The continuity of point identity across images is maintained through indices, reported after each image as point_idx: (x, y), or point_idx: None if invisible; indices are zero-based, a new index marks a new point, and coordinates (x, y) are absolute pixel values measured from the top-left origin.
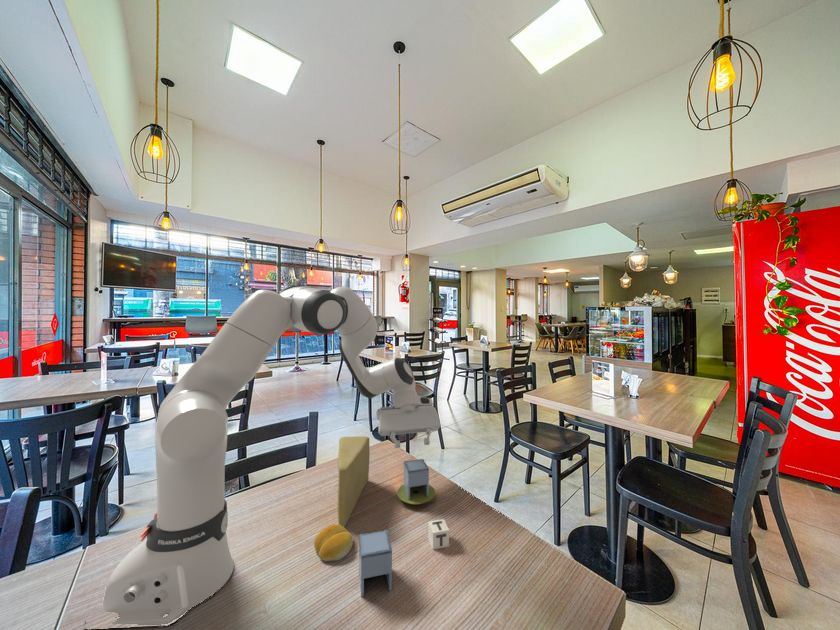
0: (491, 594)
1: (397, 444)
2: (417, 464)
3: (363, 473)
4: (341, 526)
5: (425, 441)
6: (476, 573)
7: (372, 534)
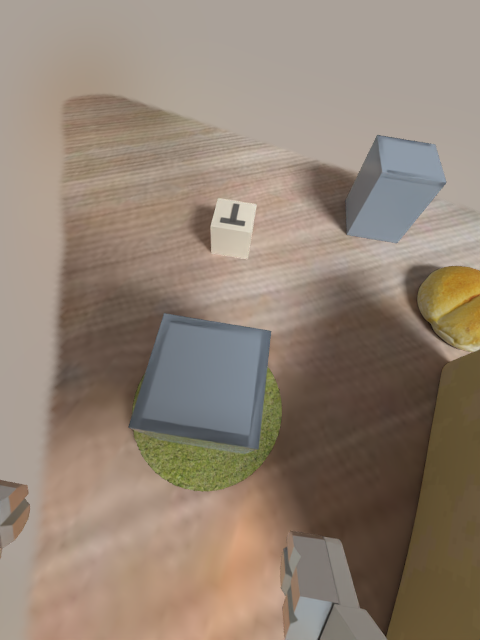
0: (208, 150)
1: (324, 548)
2: (196, 377)
3: (469, 543)
4: (466, 319)
5: (5, 495)
6: (206, 175)
7: (416, 172)
